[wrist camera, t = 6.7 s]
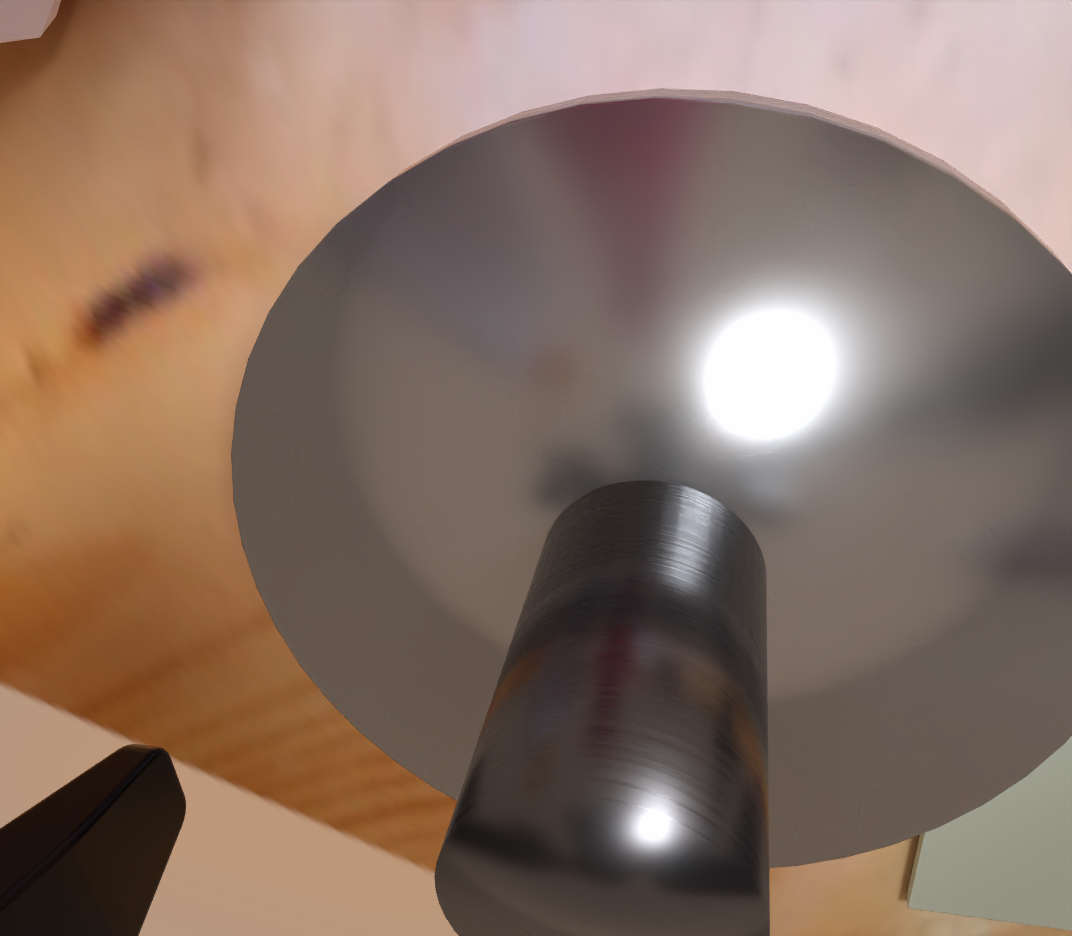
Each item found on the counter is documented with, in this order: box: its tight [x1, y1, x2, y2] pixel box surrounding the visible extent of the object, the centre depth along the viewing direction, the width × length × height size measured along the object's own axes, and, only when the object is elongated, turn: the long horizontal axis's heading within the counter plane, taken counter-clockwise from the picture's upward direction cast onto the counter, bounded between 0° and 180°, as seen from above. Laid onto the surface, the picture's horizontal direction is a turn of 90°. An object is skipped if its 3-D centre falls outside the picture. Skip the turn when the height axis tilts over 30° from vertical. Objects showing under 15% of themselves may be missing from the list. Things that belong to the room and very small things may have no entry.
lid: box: [231, 89, 1072, 936], centre depth 11 cm, size 12×12×6 cm
